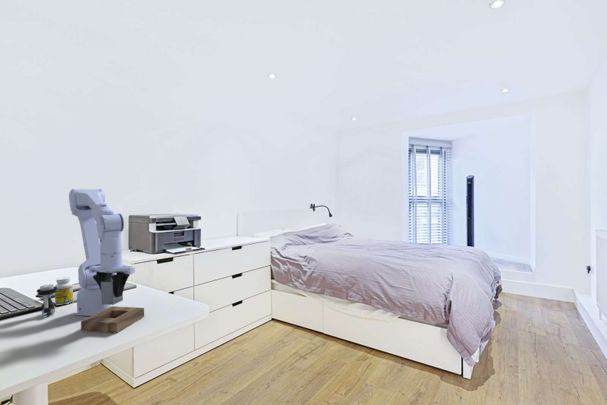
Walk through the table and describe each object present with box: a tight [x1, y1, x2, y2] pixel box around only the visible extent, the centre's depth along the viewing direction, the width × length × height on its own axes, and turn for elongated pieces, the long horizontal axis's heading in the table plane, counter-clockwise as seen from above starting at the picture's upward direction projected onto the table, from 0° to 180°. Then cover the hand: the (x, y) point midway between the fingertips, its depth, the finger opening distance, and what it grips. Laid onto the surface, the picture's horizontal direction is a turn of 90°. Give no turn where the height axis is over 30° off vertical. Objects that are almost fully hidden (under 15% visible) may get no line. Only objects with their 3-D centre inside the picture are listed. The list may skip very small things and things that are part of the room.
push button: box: [36, 283, 57, 319], centre depth 105 cm, size 7×5×10 cm
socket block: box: [80, 305, 145, 334], centre depth 97 cm, size 12×12×3 cm
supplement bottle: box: [54, 276, 74, 305], centre depth 116 cm, size 5×5×10 cm
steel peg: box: [101, 278, 124, 306], centre depth 97 cm, size 4×4×7 cm
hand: (112, 295), depth 97 cm, fingers closed on steel peg, 4 cm apart
